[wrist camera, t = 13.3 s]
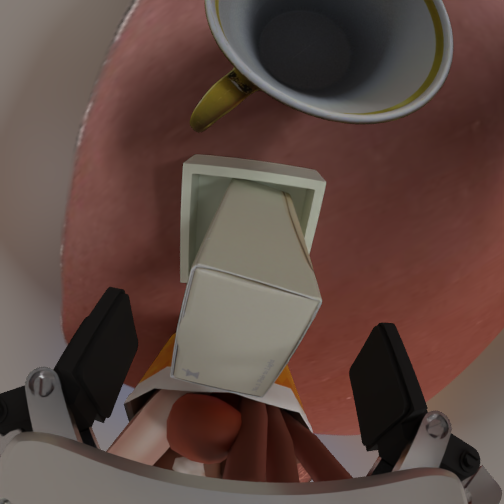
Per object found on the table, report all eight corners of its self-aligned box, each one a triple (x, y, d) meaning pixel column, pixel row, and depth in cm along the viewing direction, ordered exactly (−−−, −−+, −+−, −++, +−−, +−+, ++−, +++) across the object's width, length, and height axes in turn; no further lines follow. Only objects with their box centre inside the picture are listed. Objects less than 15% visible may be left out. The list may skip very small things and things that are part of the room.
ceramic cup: (304, -26, 12) (334, -100, 3) (396, 68, 15) (485, 57, 6) (170, 77, 16) (96, 58, 7) (268, 171, 19) (276, 227, 11)
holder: (315, 169, 19) (326, 182, 16) (293, 271, 23) (297, 296, 20) (195, 153, 19) (183, 163, 16) (190, 258, 23) (180, 282, 20)
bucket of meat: (240, 406, 35) (232, 537, 17) (130, 356, 30) (81, 500, 13) (352, 326, 27) (400, 515, 9) (213, 237, 22) (137, 522, 5)
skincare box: (263, 263, 22) (264, 402, 11) (208, 248, 21) (167, 380, 11) (292, 190, 19) (331, 303, 8) (230, 170, 18) (189, 264, 8)
